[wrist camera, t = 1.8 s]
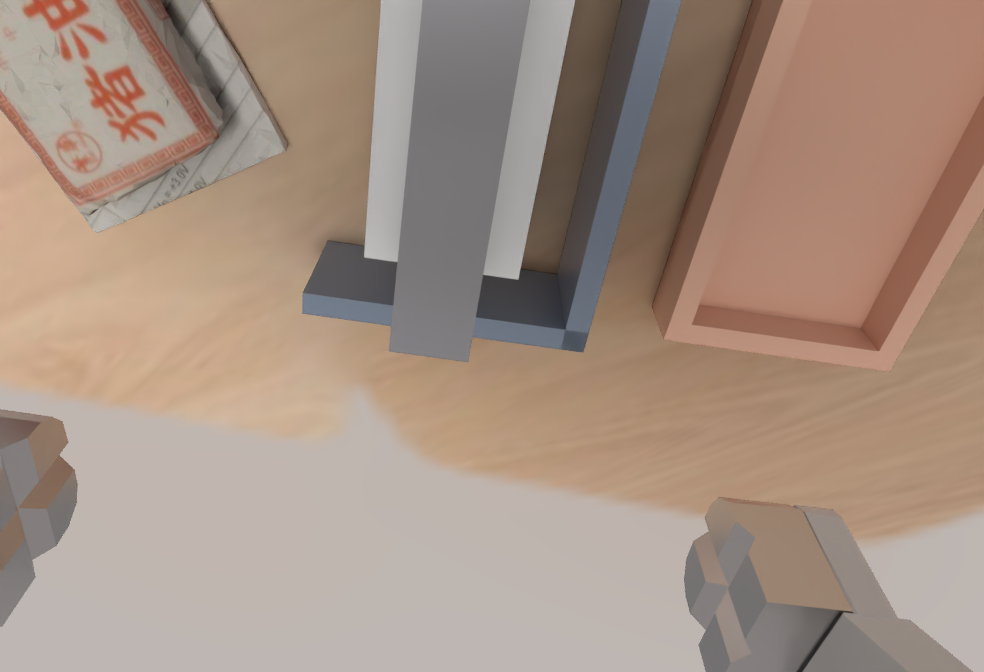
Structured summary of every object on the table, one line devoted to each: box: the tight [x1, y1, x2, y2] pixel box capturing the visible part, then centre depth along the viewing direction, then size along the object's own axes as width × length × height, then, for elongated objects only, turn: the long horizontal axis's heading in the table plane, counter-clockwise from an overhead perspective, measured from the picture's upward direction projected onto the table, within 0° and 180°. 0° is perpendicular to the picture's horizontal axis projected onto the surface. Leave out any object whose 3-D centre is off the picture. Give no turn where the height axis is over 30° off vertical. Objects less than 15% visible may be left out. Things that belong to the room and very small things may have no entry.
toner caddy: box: [364, 0, 575, 362], centre depth 24 cm, size 6×12×12 cm, turn 171°
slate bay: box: [302, 0, 681, 352], centre depth 27 cm, size 12×19×5 cm, turn 171°
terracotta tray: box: [652, 0, 984, 372], centre depth 29 cm, size 11×17×3 cm, turn 171°
